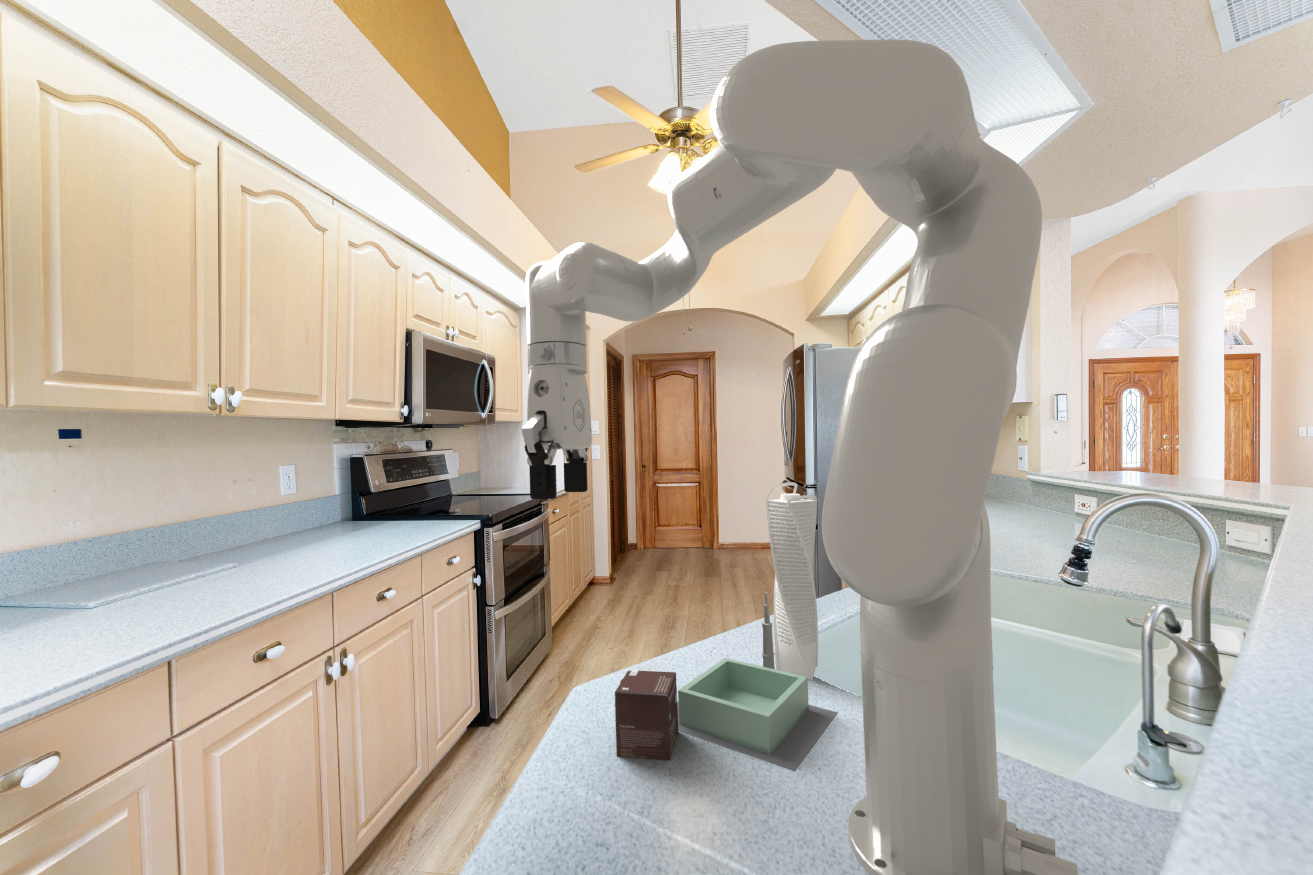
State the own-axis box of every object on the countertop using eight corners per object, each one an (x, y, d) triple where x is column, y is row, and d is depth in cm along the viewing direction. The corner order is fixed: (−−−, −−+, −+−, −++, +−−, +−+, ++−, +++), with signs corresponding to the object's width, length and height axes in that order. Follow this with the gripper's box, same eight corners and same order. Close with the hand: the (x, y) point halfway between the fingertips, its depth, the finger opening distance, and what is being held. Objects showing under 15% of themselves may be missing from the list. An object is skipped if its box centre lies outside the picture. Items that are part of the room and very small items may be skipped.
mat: (837, 715, 64) (837, 712, 64) (794, 774, 53) (794, 770, 53) (710, 681, 75) (710, 678, 75) (651, 724, 64) (651, 721, 64)
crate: (808, 709, 65) (807, 676, 65) (770, 754, 56) (768, 716, 56) (726, 687, 72) (725, 657, 72) (679, 724, 63) (678, 690, 63)
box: (670, 765, 55) (668, 695, 56) (615, 760, 57) (613, 691, 57) (679, 734, 61) (677, 671, 62) (629, 730, 63) (627, 668, 63)
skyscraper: (771, 660, 82) (765, 481, 83) (825, 667, 79) (818, 481, 80) (762, 683, 75) (754, 485, 75) (821, 691, 72) (813, 485, 72)
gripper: (555, 347, 58) (559, 502, 58) (607, 369, 75) (611, 489, 75) (494, 352, 60) (498, 502, 60) (559, 372, 77) (562, 489, 77)
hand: (560, 495), depth 67 cm, fingers open, 9 cm apart
